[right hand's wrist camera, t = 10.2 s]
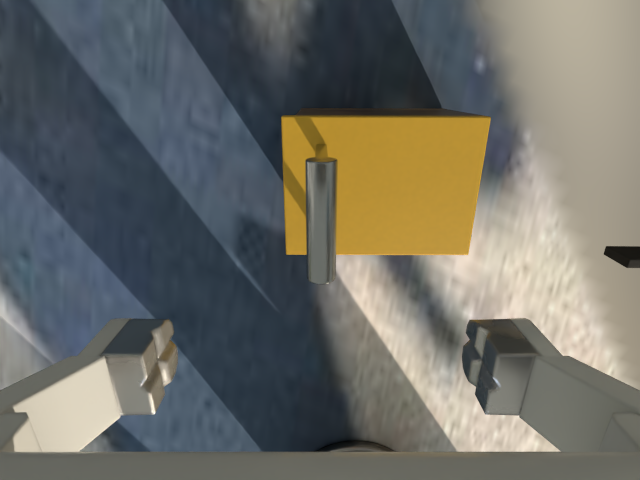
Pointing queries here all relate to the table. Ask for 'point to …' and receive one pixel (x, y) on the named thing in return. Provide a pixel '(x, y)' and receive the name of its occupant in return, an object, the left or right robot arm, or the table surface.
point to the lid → (379, 186)
